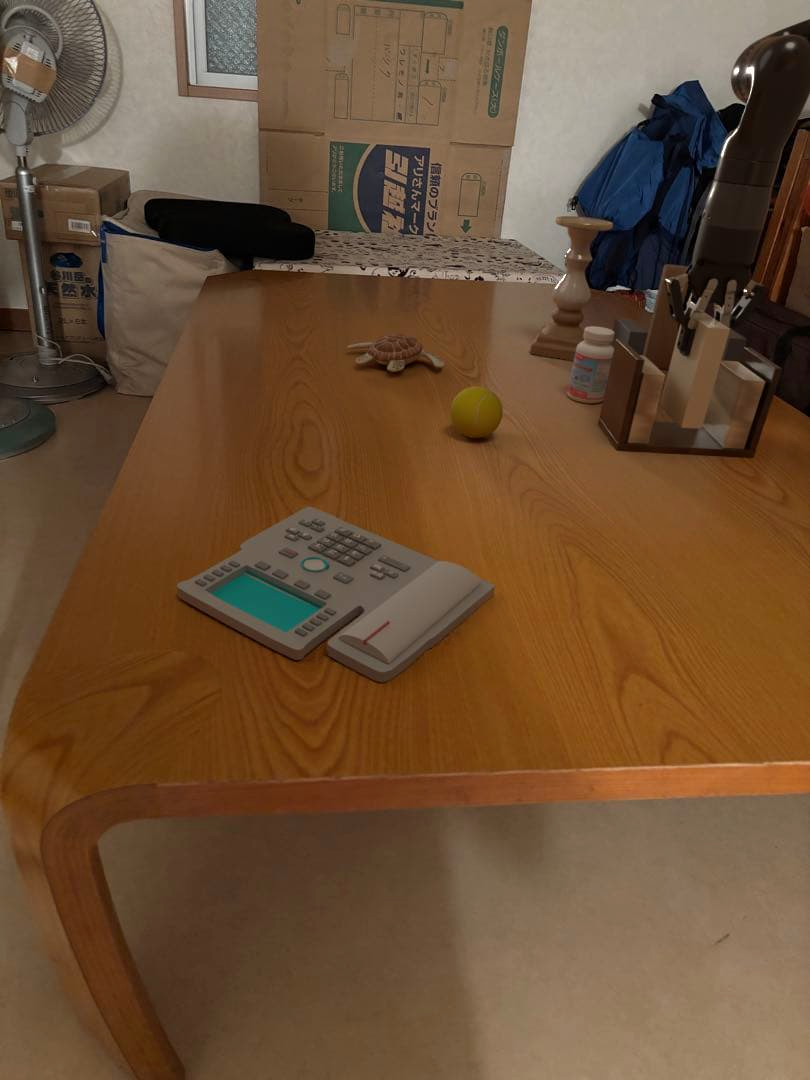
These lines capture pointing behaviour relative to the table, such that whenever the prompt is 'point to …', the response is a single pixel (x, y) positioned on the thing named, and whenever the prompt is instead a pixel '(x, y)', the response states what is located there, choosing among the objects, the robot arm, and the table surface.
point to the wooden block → (663, 323)
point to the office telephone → (337, 594)
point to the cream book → (694, 374)
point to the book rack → (727, 420)
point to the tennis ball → (476, 412)
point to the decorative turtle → (395, 352)
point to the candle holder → (570, 291)
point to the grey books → (638, 336)
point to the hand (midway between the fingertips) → (696, 354)
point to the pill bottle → (591, 366)
